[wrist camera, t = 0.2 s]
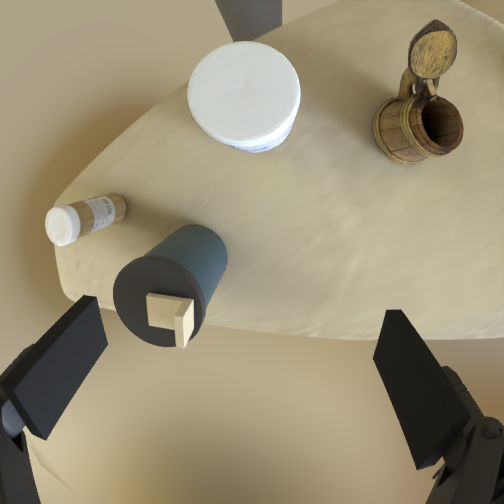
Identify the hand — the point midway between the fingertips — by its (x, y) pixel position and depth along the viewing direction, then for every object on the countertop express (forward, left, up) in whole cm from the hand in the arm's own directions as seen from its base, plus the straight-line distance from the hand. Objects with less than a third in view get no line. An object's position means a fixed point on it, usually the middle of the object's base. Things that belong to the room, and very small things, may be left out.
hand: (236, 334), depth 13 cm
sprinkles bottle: (+17, -14, -28) cm, 36 cm away
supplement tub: (-6, -11, -28) cm, 31 cm away
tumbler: (+12, -1, -28) cm, 30 cm away
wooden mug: (-22, -1, -28) cm, 36 cm away
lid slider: (+10, 0, -13) cm, 16 cm away
